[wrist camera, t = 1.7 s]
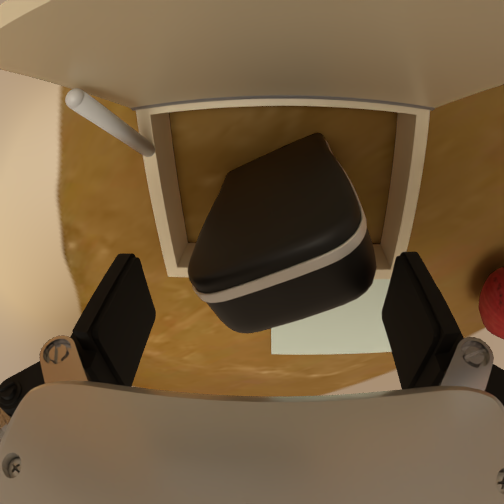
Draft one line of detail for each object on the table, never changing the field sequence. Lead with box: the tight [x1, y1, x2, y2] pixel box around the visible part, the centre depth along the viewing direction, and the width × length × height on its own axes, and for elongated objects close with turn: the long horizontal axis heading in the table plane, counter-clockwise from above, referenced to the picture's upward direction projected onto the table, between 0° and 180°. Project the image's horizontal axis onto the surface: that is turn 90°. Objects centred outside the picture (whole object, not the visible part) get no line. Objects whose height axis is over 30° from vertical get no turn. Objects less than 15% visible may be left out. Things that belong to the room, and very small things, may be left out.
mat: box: [271, 279, 392, 354], centre depth 26 cm, size 12×10×1 cm
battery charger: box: [188, 133, 377, 333], centre depth 15 cm, size 7×4×11 cm, turn 118°
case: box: [0, 0, 504, 279], centre depth 13 cm, size 16×16×14 cm
